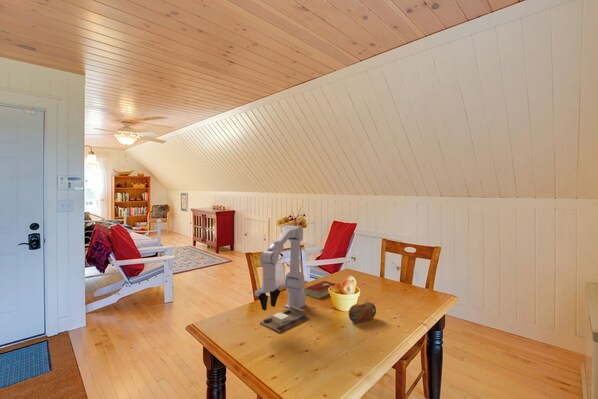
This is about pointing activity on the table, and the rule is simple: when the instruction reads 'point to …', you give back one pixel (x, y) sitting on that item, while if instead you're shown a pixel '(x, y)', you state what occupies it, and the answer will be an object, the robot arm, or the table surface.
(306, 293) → the hardcover book
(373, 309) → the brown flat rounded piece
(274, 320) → the block
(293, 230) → the robot arm
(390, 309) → the table surface
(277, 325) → the brown and grey tray
